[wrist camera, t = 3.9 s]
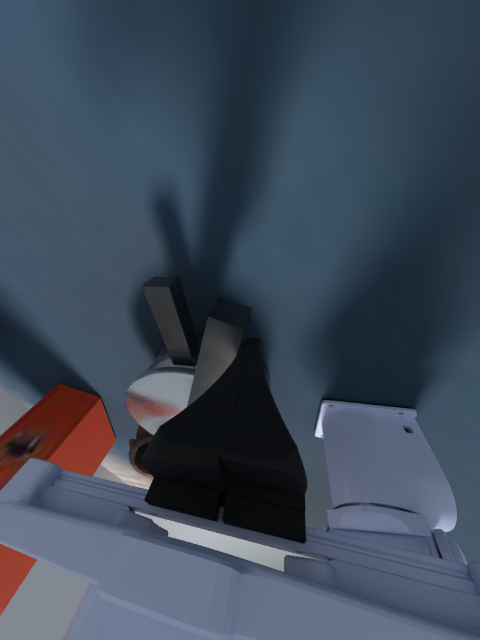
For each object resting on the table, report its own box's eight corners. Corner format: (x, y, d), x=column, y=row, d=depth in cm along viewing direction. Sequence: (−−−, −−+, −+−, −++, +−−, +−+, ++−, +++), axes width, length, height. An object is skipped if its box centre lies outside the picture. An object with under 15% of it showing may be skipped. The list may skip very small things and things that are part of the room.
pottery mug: (131, 412, 37) (109, 449, 29) (179, 391, 37) (170, 421, 29) (162, 460, 40) (149, 506, 32) (206, 440, 40) (205, 480, 32)
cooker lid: (245, 461, 25) (241, 485, 23) (134, 423, 25) (121, 445, 23) (353, 339, 12) (366, 372, 10) (118, 256, 12) (83, 273, 10)
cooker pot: (270, 426, 29) (268, 465, 25) (182, 414, 32) (167, 447, 28) (267, 259, 15) (260, 289, 11) (113, 265, 18) (64, 289, 14)
